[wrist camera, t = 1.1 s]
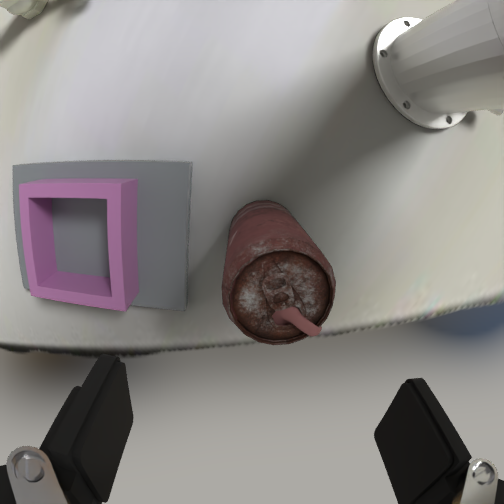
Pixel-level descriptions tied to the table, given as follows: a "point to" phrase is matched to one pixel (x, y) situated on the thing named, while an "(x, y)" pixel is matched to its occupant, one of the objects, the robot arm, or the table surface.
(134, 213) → the cup holder
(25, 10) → the valve
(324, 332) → the table surface
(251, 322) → the can
